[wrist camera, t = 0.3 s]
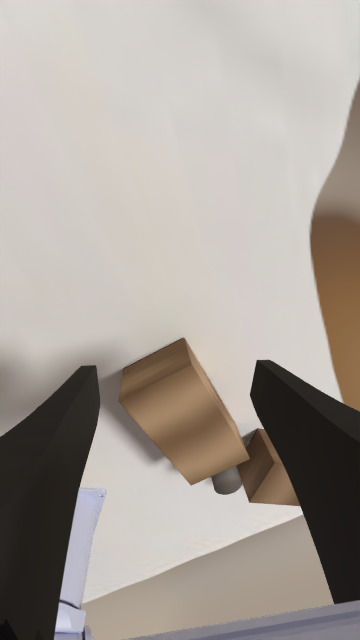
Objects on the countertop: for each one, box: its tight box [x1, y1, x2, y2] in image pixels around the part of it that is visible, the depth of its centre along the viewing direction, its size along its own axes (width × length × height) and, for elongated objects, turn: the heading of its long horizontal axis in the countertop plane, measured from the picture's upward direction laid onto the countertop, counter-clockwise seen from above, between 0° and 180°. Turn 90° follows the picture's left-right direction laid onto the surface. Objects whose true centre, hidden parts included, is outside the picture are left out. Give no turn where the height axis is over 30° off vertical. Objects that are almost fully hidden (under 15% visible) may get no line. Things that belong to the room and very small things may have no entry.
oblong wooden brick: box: [237, 429, 300, 506], centre depth 28 cm, size 12×6×4 cm, turn 72°
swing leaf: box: [119, 338, 250, 495], centre depth 23 cm, size 15×6×4 cm, turn 27°
